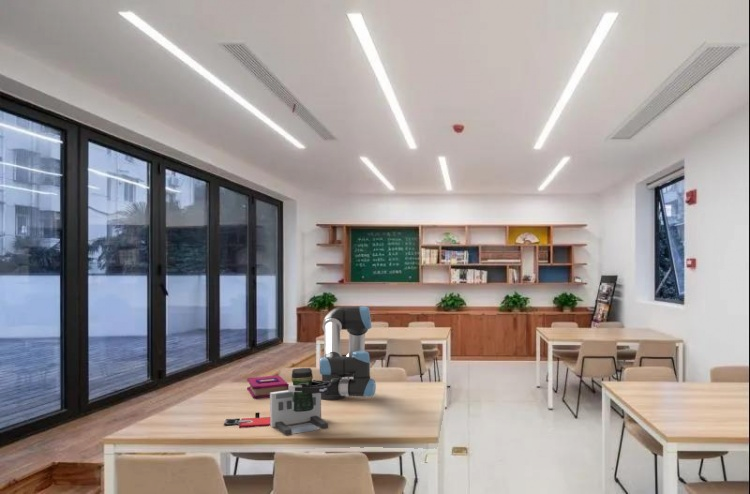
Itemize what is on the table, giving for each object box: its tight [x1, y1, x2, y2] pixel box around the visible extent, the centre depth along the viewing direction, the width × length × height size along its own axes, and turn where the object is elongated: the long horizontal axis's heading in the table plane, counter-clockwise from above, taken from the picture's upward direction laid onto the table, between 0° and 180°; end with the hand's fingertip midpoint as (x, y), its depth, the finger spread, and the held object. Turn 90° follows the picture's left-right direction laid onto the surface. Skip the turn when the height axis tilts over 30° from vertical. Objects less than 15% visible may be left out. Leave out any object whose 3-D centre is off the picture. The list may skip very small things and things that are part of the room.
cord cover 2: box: [310, 416, 329, 430], centre depth 228 cm, size 14×3×2 cm, turn 28°
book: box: [246, 374, 290, 400], centre depth 296 cm, size 21×28×8 cm
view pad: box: [288, 422, 320, 435], centre depth 222 cm, size 11×12×1 cm
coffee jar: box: [291, 367, 314, 412], centre depth 223 cm, size 10×8×19 cm
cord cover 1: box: [274, 421, 292, 436], centre depth 220 cm, size 14×3×2 cm, turn 28°
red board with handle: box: [223, 412, 270, 429], centre depth 234 cm, size 30×3×15 cm
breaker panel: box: [269, 390, 322, 428], centre depth 232 cm, size 4×24×15 cm, turn 118°
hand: (292, 386), depth 224 cm, fingers closed on coffee jar, 8 cm apart
